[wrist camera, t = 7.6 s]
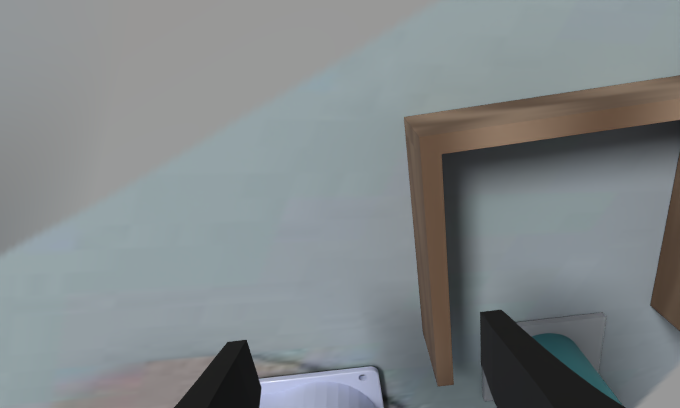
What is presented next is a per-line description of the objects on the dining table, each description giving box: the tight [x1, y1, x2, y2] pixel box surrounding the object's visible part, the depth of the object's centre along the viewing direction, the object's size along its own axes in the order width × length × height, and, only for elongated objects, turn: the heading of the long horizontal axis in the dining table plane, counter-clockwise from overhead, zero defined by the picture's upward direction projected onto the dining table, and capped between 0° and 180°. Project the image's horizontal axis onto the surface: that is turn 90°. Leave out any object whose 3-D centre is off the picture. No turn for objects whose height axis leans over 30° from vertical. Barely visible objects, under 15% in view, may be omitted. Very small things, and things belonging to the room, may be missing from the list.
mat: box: [482, 312, 606, 401], centre depth 24 cm, size 7×6×1 cm
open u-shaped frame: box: [404, 75, 680, 386], centre depth 19 cm, size 14×13×4 cm
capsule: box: [532, 333, 623, 406], centre depth 21 cm, size 4×4×6 cm
